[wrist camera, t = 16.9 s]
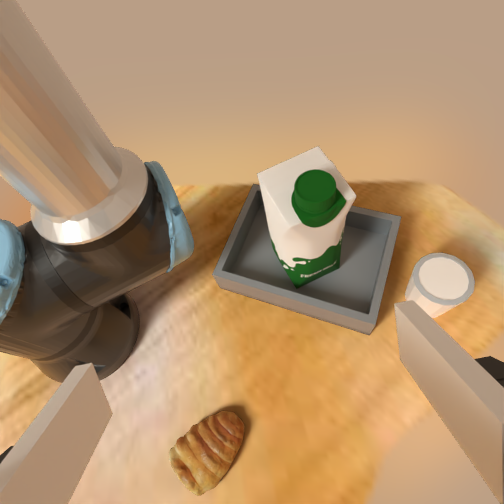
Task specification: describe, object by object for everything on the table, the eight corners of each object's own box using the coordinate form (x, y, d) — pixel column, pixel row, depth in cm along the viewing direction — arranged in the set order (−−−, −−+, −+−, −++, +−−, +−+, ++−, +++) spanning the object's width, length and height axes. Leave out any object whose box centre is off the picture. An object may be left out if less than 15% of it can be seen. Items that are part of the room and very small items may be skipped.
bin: (220, 287, 54) (212, 274, 50) (257, 202, 60) (253, 183, 56) (369, 335, 48) (375, 325, 43) (393, 234, 54) (401, 216, 50)
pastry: (223, 397, 47) (216, 394, 44) (259, 439, 44) (255, 439, 41) (168, 454, 45) (157, 456, 42) (202, 502, 42) (193, 508, 39)
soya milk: (293, 297, 51) (284, 223, 33) (266, 247, 55) (245, 157, 37) (348, 270, 51) (369, 184, 34) (317, 223, 55) (321, 124, 38)
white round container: (440, 269, 51) (458, 246, 44) (463, 315, 47) (486, 297, 41) (392, 280, 51) (403, 259, 45) (412, 327, 48) (427, 311, 41)
